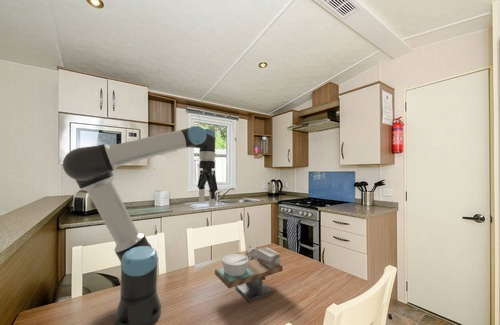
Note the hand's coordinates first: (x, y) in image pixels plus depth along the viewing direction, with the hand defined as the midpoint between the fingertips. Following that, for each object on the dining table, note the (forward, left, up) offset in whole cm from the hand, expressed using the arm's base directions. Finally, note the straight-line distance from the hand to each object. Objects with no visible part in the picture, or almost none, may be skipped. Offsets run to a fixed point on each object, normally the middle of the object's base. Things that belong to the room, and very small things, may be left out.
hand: (206, 203), depth 105 cm
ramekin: (+5, -20, -26) cm, 33 cm away
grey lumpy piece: (+32, +6, -37) cm, 49 cm away
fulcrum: (+15, -20, -37) cm, 44 cm away
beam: (+12, -20, -29) cm, 37 cm away
